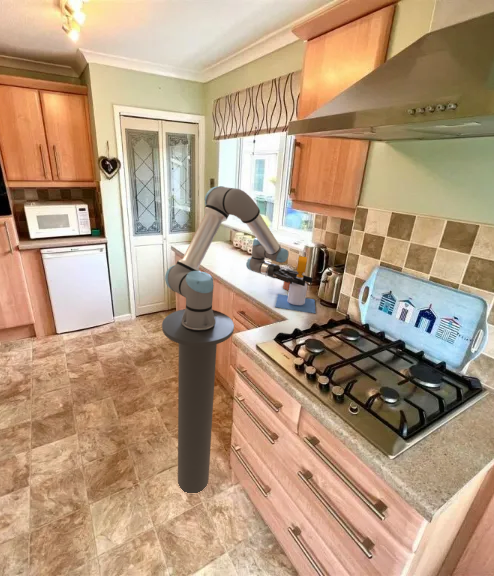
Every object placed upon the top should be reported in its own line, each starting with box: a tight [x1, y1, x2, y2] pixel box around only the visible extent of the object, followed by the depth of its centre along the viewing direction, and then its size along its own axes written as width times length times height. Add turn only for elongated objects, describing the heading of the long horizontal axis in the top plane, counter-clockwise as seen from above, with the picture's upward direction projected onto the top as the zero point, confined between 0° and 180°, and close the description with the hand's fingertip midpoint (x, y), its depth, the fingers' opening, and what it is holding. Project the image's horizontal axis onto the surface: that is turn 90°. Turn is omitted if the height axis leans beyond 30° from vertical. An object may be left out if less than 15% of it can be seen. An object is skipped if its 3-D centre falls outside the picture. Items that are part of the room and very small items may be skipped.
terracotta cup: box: [282, 270, 297, 292], centre depth 180 cm, size 8×8×10 cm
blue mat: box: [274, 293, 316, 315], centre depth 161 cm, size 20×18×1 cm
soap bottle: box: [287, 255, 308, 305], centre depth 157 cm, size 9×9×25 cm
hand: (308, 281), depth 153 cm, fingers closed on soap bottle, 6 cm apart
